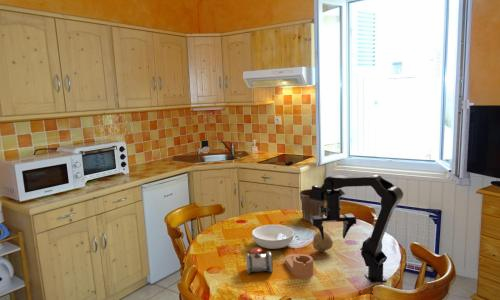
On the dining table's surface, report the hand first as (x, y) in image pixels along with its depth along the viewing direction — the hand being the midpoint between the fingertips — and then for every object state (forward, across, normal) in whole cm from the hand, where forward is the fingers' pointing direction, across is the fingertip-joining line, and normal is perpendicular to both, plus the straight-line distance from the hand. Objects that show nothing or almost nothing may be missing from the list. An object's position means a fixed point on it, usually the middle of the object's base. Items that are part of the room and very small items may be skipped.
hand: (333, 238), depth 159 cm
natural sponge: (+12, +1, -13) cm, 18 cm away
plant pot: (+12, -4, -58) cm, 60 cm away
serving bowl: (+12, +24, -24) cm, 36 cm away
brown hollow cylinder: (+12, +16, +2) cm, 20 cm away
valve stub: (+12, +33, +2) cm, 35 cm away
